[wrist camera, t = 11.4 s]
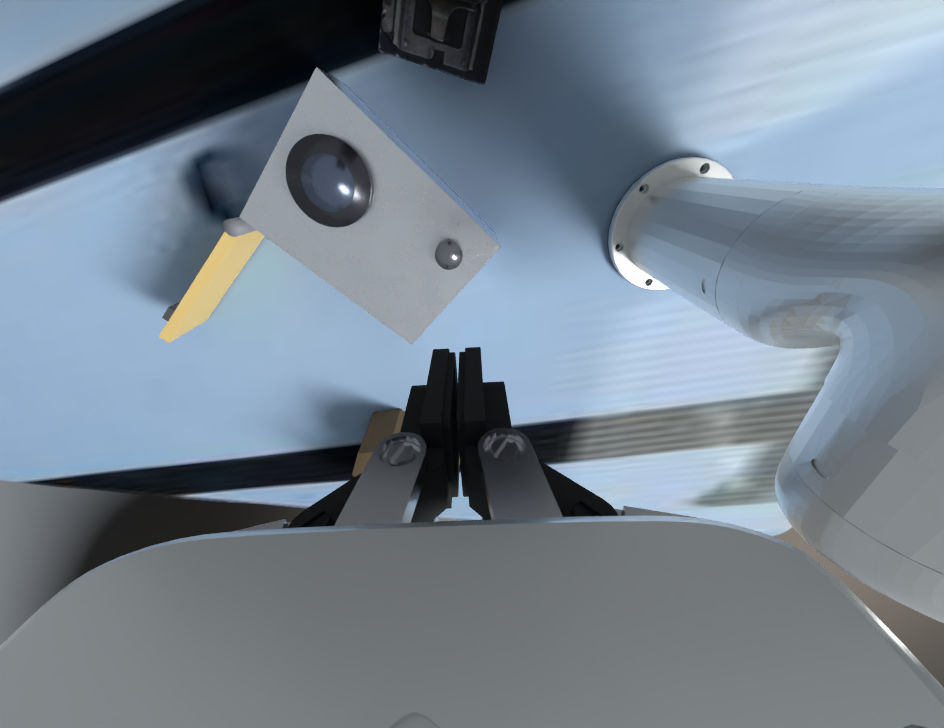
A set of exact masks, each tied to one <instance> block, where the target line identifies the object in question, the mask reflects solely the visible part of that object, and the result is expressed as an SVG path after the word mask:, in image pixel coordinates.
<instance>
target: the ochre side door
mask: <svg viewBox="0 0 944 728" xmlns="http://www.w3.org/2000/svg"><path fill="white" fill-rule="evenodd" d="M223 228H224V230H225V232H224V233H223V235H222V237H221V238H220V240H219V241H218V243H217V245H216V246H215V248H214V249H213V251H212V253H211V254H210V256H209V257H208V259H207V261H206V262H205V264H204V265H203V267H202V268H201V270H200V272H199V273H198V275H197V276H196V278H195V280H194V281H193V283H192V284H191V286H190V288H189V289H188V291H187V292H186V294H185V296H184V297H183V299H182V300H181V302H179V303H177V304H175V305H173V306H170V307H168V309H167V311H166V312H165V314H164V316H163V317H162V318H164V319H165V320H167V321H168V323H167V324H166V326H165V327H164V329H163V331H162V332H161V334H160V335H159V337H160V338H162V339H164V340H165V341H167V342H168V343H169V342H171V341H173V340H174V339H176V338H178V337H179V336H181V335H183V334H184V333H186V332H188V331H189V330H191V329H193V328H194V327H196V326H198V325H199V324H201V323H203V322H204V321H206V320H207V319H208V317H209V316H210V315H211V313H212V312H213V310H214V309H215V307H216V306H217V304H218V303H219V302H220V300H221V299H222V297H223V296H224V294H225V293H226V291H227V290H228V288H229V287H230V286H231V284H232V283H233V281H234V280H235V278H236V277H237V275H238V274H239V273H240V271H241V270H242V268H243V267H244V265H245V264H246V262H247V261H248V259H249V258H250V257H251V255H252V254H253V252H254V251H255V249H256V248H257V246H258V245H259V244H260V242H261V241H262V239H263V238H264V235H263V234H261V233H260V232H259V231H257V230H256V229H254V228H253V227H252V226H250V225H249V224H248V223H246V222H245V221H244V220H242V219H241V218H240V217H235V218H231V219H227V220H225V221H224V222H223Z"/></svg>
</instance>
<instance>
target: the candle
mask: <svg viewBox="0 0 944 728" xmlns="http://www.w3.org/2000/svg"><path fill="white" fill-rule="evenodd" d="M404 415H405V412H404V411H403V410H401V409H395V410H388V411H381V412H375V413H373V415H372V418H371V420H370V423H369V426H368V428H367V431H366V433H365V436H364V439H363V441H362V444H361V447H360V449H359V452H358V455H357V458H356V462H355V466H354V470H353V473H352V475H353V476H354V477H356V476H357V475H359V474H361V473H362V472H363V470H364V468H365V466H366V464H367V462H368V461H369V459H370V457H371V455H372V453H373V451H374V449H375V448H376V446H377V445H378V444H379V442H381V441H382V440H383V439H384V438H386V437H388V436H390V435H392V434H396V433H400V430H401V426H402V422H403V418H404ZM459 465H460V456H459Z"/></svg>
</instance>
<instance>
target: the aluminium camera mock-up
mask: <svg viewBox="0 0 944 728" xmlns="http://www.w3.org/2000/svg"><path fill="white" fill-rule="evenodd" d="M240 218H241V219H242V220H244V221H245V222H246V223H248V224H249V225H250V226H252V227H253V228H254V229H256V230H257V231H259V232H260V233H261V234H263V235H264V236H265V237H267V238H268V239H269V240H271V241H272V242H273V243H275V244H276V245H277V246H279V247H280V248H282V249H283V250H284V251H286V252H287V253H288V254H290V255H291V256H292V257H294V258H295V259H296V260H298V261H299V262H301V263H302V264H303V265H305V266H306V267H307V268H309V269H310V270H311V271H313V272H314V273H315V274H317V275H318V276H320V277H321V278H322V279H324V280H325V281H326V282H328V283H329V284H330V285H332V286H333V287H334V288H336V289H337V290H338V291H340V292H341V293H343V294H344V295H345V296H347V297H348V298H349V299H351V300H352V301H353V302H355V303H356V304H357V305H359V306H360V307H362V308H363V309H364V310H366V311H367V312H368V313H370V314H371V315H372V316H374V317H375V318H376V319H378V320H379V321H380V322H382V323H383V324H385V325H386V326H387V327H389V328H390V329H391V330H393V331H394V332H395V333H397V334H398V335H399V336H401V337H402V338H404V339H405V340H406V341H408V342H409V343H410V344H413V343H414V342H415V340H416V339H417V338H418V337H419V336H420V335H421V334H422V333H423V332H424V331H425V329H426V328H427V327H428V326H429V325H430V324H431V323H432V322H433V321H434V320H435V319H436V317H437V316H438V315H439V314H440V313H441V312H442V311H443V310H444V309H445V308H446V307H447V305H448V304H449V303H450V302H451V301H452V300H453V299H454V298H455V297H456V296H457V294H458V293H459V292H460V291H461V290H462V289H463V288H464V287H465V286H466V285H467V284H468V282H469V281H470V280H471V279H472V278H473V277H474V276H475V275H476V274H477V273H478V272H479V270H480V269H481V268H482V267H483V266H484V265H485V264H486V263H487V262H488V261H489V259H490V258H491V257H492V256H493V255H494V254H495V253H496V252H497V251H498V250H499V249H500V247H501V246H500V244H499V241H498V238H497V236H496V234H495V233H494V232H493V231H492V230H491V229H490V228H489V227H488V226H487V225H486V224H485V223H484V222H483V221H482V220H481V219H480V218H479V217H478V216H477V215H476V214H475V213H474V212H473V211H472V210H471V209H470V208H469V207H468V206H467V205H466V204H465V203H464V202H463V201H462V200H461V199H460V198H459V197H458V196H457V195H456V194H455V193H454V192H453V191H452V190H451V189H450V188H449V187H448V186H447V185H446V184H445V183H444V182H443V181H442V180H441V179H440V178H439V177H438V176H437V175H436V174H435V173H434V172H433V171H432V170H431V169H430V168H429V167H428V166H427V165H426V164H425V163H424V162H423V161H422V160H421V159H420V158H419V157H418V156H417V155H416V154H415V153H414V152H413V151H412V150H411V149H410V148H409V147H408V146H407V145H405V144H404V143H403V142H402V141H401V140H400V139H399V138H398V137H397V136H396V135H395V134H394V133H393V132H392V131H391V130H390V129H389V128H388V127H387V126H386V125H385V124H384V123H383V122H382V121H381V120H380V119H379V118H378V117H377V116H376V115H375V114H374V113H373V112H372V111H371V110H370V109H369V108H368V107H367V106H366V105H365V104H364V103H363V102H362V101H361V100H360V99H359V98H358V97H357V96H356V95H355V94H354V93H353V92H352V91H351V90H350V89H349V88H348V87H347V86H346V85H344V84H343V83H341V82H340V81H338V80H336V79H335V78H333V77H332V76H330V75H329V74H327V73H325V72H324V71H322V70H321V69H319V68H317V67H316V69H315V71H314V72H313V74H312V76H311V78H310V80H309V82H308V84H307V86H306V88H305V90H304V92H303V94H302V96H301V98H300V100H299V102H298V104H297V106H296V108H295V110H294V111H293V113H292V115H291V117H290V119H289V121H288V123H287V125H286V127H285V129H284V131H283V133H282V135H281V137H280V139H279V141H278V143H277V145H276V147H275V148H274V150H273V152H272V154H271V156H270V158H269V160H268V162H267V164H266V166H265V168H264V170H263V172H262V174H261V176H260V178H259V180H258V182H257V184H256V186H255V187H254V189H253V191H252V193H251V195H250V197H249V199H248V201H247V203H246V205H245V207H244V209H243V211H242V213H241V215H240Z"/></svg>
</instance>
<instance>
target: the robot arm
mask: <svg viewBox="0 0 944 728" xmlns="http://www.w3.org/2000/svg"><path fill="white" fill-rule="evenodd" d="M701 167H702V168H701ZM700 168H701V170H700ZM641 186H642V190H641V191H639V189H640V187H641ZM617 244H618V247H617V248H615V246H616V245H617ZM608 247H609V253H610V257H611V260H612V263H613V265H614V267H615V268H616V270H617V271H618V273H619V274H620V275H621V276H622V277H624V278H625V279H626V280H627V281H629V282H630V283H632V284H633V285H636V286H638V287H641V288H644V289H650V290H664V289H671V290H672V291H674V292H676V293H677V294H679V295H680V296H682V297H684V298H685V299H687V300H688V301H690V302H692V303H693V304H695V305H696V306H698V307H700V308H701V309H703V310H704V311H706V312H708V313H709V314H711V315H712V316H714V317H716V318H717V319H719V320H720V321H722V322H724V323H725V324H727V325H728V326H730V327H732V328H734V329H735V330H737V331H739V332H740V333H742V334H744V335H745V336H747V337H749V338H751V339H753V340H755V341H757V342H760V343H763V344H766V345H770V346H775V347H782V348H792V349H796V348H818V347H826V346H833V345H840V350H839V354H838V357H837V358H836V360H835V362H834V364H833V366H832V368H831V370H830V372H829V374H828V375H827V377H826V379H825V382H824V386H823V387H822V389H821V391H820V392H819V394H818V396H817V397H816V399H815V401H814V403H813V404H812V406H811V408H810V409H809V411H808V413H807V414H806V416H805V418H804V419H803V421H802V423H801V424H800V426H799V428H798V430H797V431H796V433H795V435H794V436H793V438H792V440H791V441H790V444H789V446H788V447H787V449H786V451H785V453H784V455H783V457H782V459H781V462H780V464H779V466H778V469H777V473H776V478H775V490H776V496H777V500H778V503H779V506H780V508H781V510H782V512H783V513H784V515H785V517H786V519H787V520H788V521H789V523H790V524H791V525H792V527H793V528H794V529H795V530H796V531H797V532H798V533H799V534H800V535H801V537H802V538H803V539H804V540H805V541H806V542H808V544H810V545H811V546H812V547H813V548H814V549H815V550H817V551H818V552H819V553H820V554H821V555H823V556H824V557H825V558H827V559H828V560H829V561H831V562H832V563H833V564H835V565H836V566H837V567H839V568H841V569H842V570H844V571H845V572H846V573H848V574H850V575H851V576H853V577H854V578H856V579H857V580H859V581H861V582H862V583H864V584H866V585H868V586H869V587H871V588H873V589H875V590H876V591H878V592H880V593H882V594H884V595H886V596H888V597H890V598H892V599H893V600H895V601H897V602H899V603H901V604H903V605H906V606H908V607H910V608H912V609H914V610H916V611H918V612H920V613H922V614H925V615H927V616H929V617H931V618H933V619H935V620H938V621H940V622H942V623H944V189H942V188H885V187H863V186H845V185H827V184H811V183H794V182H777V181H761V180H744V179H734V177H733V176H732V174H731V173H730V172H729V171H728V169H727V168H725V167H724V166H722V165H721V164H719V163H718V162H716V161H713V160H710V159H707V158H699V157H686V158H679V159H675V160H671V161H668V162H665V163H663V164H661V165H659V166H656V167H655V168H653V169H652V170H650V171H649V172H647V173H646V174H644V175H643V176H642V177H641V178H640V179H639V180H637V181H636V182H635V183H634V184H633V185H632V186H631V188H630V189H629V190H628V191H627V193H626V194H625V195H624V196H623V198H622V200H621V201H620V203H619V205H618V206H617V208H616V210H615V213H614V216H613V218H612V221H611V225H610V229H609V237H608ZM646 280H647V281H646ZM459 456H460V467H461V477H462V488H463V497H467V496H469V506H470V507H471V508H472V509H473V510H474V511H476V512H477V513H478V514H479V515H480V516H482V520H468V521H443V522H442V521H441V522H438V515H440V514H441V513H442V512H443V511H444V510H445V509H446V508H451V504H452V497H458V487H459ZM0 728H944V688H943V687H942V686H941V685H940V683H939V682H938V681H937V680H936V679H935V678H934V677H933V676H932V675H931V674H930V673H929V671H928V670H927V669H926V668H925V667H924V666H923V665H922V664H921V663H920V662H919V661H918V659H917V658H916V657H915V656H914V655H913V654H912V653H911V652H910V651H909V650H908V648H907V647H906V646H905V645H904V644H903V643H902V642H901V641H900V640H899V639H898V638H897V637H896V636H895V635H894V634H893V633H892V632H891V631H890V630H889V629H888V627H887V626H886V625H885V624H884V623H883V622H882V621H881V620H880V619H879V618H878V617H877V616H876V615H875V614H874V613H873V612H872V611H871V610H870V609H869V608H868V607H867V606H866V605H865V604H864V603H863V602H862V601H861V600H860V599H859V598H858V597H857V596H856V595H855V594H853V592H852V591H851V590H850V589H848V587H847V586H845V585H844V584H843V583H842V582H841V581H840V580H839V579H838V578H837V577H835V576H834V575H833V574H832V573H831V572H829V571H828V570H827V569H826V568H825V567H823V566H822V565H821V564H820V563H819V562H817V561H816V560H814V559H813V558H812V557H810V556H809V555H807V554H806V553H804V552H802V551H801V550H799V549H797V548H795V547H794V546H792V545H790V544H788V543H786V542H783V541H781V540H779V539H777V538H774V537H772V536H769V535H766V534H763V533H761V532H758V531H754V530H750V529H747V528H743V527H740V526H736V525H733V524H729V523H724V522H718V521H713V520H707V519H702V518H696V517H690V516H683V515H677V514H671V513H665V512H659V511H652V510H646V509H640V508H634V507H627V506H623V510H618V509H614V508H613V507H612V506H611V505H610V504H609V503H607V502H606V501H605V500H603V499H602V498H600V497H599V496H597V495H595V494H594V493H592V492H590V491H589V490H587V489H585V488H584V487H582V486H580V485H579V484H577V483H575V482H574V481H572V480H571V479H569V478H567V477H566V476H564V475H562V474H561V473H559V472H557V471H556V470H554V469H552V468H551V467H549V466H547V465H546V464H544V463H542V462H541V461H539V460H538V459H537V456H536V454H535V452H534V449H533V447H532V445H531V443H530V441H529V439H528V438H527V436H525V435H524V434H523V433H521V432H519V431H517V430H515V429H512V427H511V421H510V415H509V409H508V403H507V397H506V391H505V385H504V382H484V383H483V379H482V364H481V349H480V347H474V348H465V352H460V353H459V374H458V380H457V369H456V357H455V352H453V353H450V352H449V349H434V350H433V354H432V359H431V365H430V370H429V375H428V380H427V385H419V386H412V388H411V391H410V395H409V399H408V403H407V407H406V411H405V415H404V418H403V422H402V426H401V430H400V433H396V434H392V435H390V436H388V437H386V438H384V439H383V440H382V441H381V442H379V444H378V445H377V446H376V448H375V449H374V451H373V453H372V455H371V457H370V459H369V461H368V462H367V464H366V466H365V468H364V470H363V472H362V473H361V474H359V475H357V476H356V477H354V478H353V479H351V480H350V481H348V482H347V483H345V484H344V485H342V486H341V487H339V488H338V489H336V490H335V491H333V492H332V493H330V494H329V495H327V496H326V497H324V498H322V499H321V500H319V501H318V502H316V503H315V504H313V505H312V506H310V507H309V508H307V509H306V510H304V511H303V512H302V513H300V514H299V515H298V516H297V517H295V518H294V520H293V521H292V522H291V523H287V522H286V520H285V519H284V520H280V521H275V522H271V523H267V524H263V525H259V526H255V527H250V528H246V529H242V530H238V531H234V532H225V533H215V534H205V535H199V536H193V537H187V538H181V539H177V540H173V541H169V542H165V543H161V544H156V545H152V546H149V547H146V548H143V549H141V550H138V551H135V552H132V553H129V554H126V555H124V556H121V557H119V558H116V559H114V560H112V561H109V562H107V563H105V564H103V565H101V566H99V567H97V568H95V569H93V570H91V571H89V572H87V573H86V574H84V575H82V576H81V577H79V578H78V579H76V580H75V581H73V582H72V583H70V584H69V585H68V586H67V587H65V588H64V589H63V590H61V591H60V592H59V593H58V594H57V595H55V596H54V597H53V598H52V599H50V600H49V601H48V602H47V603H46V604H45V605H43V606H42V607H41V608H40V609H39V610H38V611H37V612H36V613H34V614H33V615H32V616H31V617H30V618H29V619H28V620H27V621H26V622H25V623H24V624H23V625H22V626H21V627H20V628H19V629H17V631H15V632H14V633H13V634H12V635H11V636H10V637H9V638H8V639H7V640H6V641H5V642H4V643H3V644H2V645H1V646H0Z"/></svg>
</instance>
